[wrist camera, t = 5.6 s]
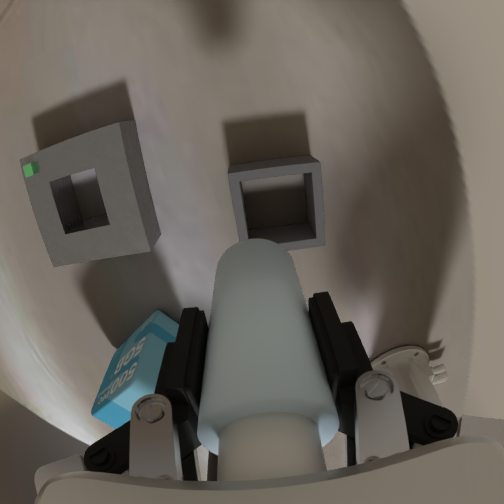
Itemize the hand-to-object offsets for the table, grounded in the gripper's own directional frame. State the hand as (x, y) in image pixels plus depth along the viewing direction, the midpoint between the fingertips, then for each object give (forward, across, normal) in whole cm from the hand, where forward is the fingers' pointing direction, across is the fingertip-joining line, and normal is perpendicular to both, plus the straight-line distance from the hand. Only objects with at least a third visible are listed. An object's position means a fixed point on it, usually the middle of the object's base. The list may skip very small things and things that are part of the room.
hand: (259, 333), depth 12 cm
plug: (+4, 0, 0) cm, 4 cm away
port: (+20, +16, -3) cm, 25 cm away
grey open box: (+19, -2, +1) cm, 20 cm away
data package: (+20, +15, +17) cm, 30 cm away
